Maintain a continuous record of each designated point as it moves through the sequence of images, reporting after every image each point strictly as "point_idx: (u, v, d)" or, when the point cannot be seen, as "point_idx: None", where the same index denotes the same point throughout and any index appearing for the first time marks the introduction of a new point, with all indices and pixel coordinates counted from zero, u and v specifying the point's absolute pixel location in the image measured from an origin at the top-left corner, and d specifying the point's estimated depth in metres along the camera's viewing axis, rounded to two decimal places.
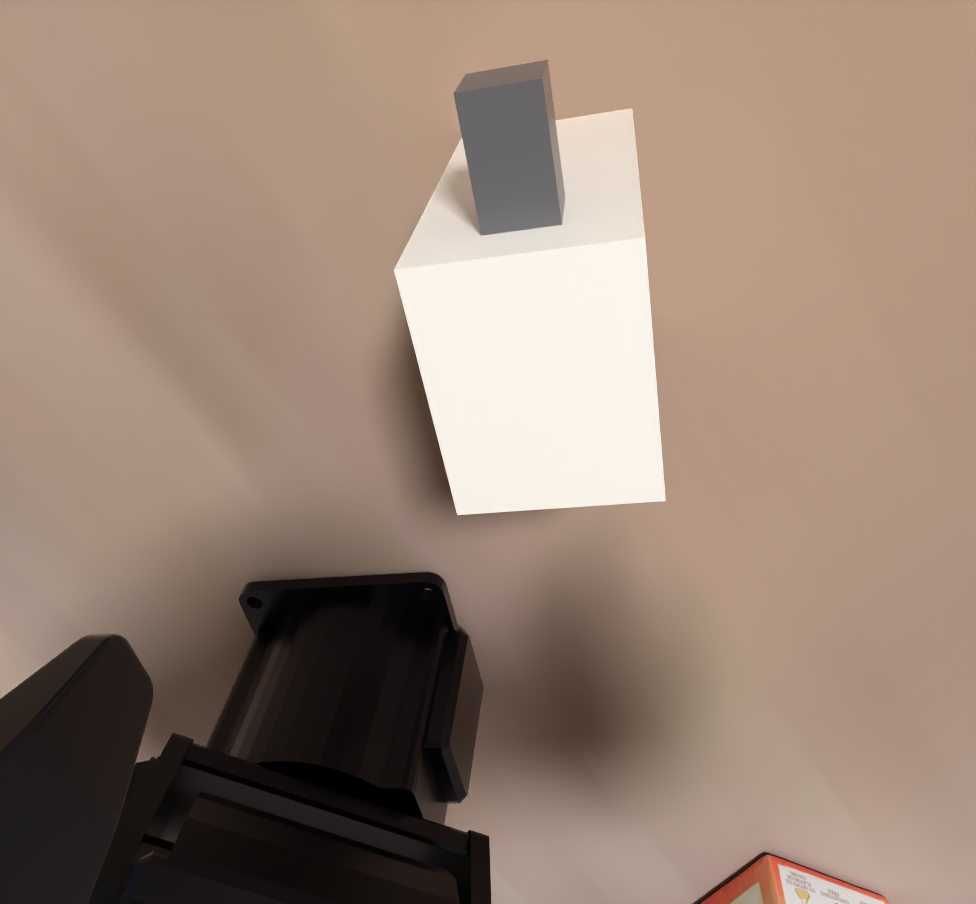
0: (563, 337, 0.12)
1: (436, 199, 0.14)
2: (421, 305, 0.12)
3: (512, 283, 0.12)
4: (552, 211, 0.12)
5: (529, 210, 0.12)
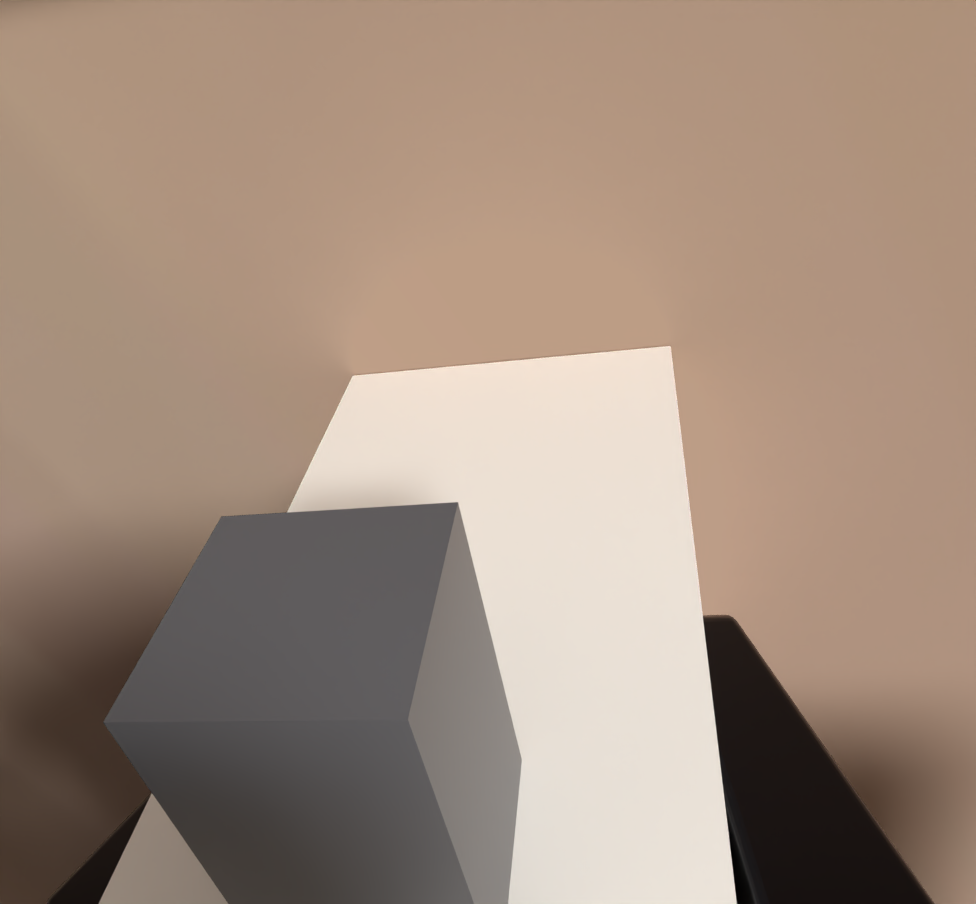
0: None
1: None
2: None
3: None
4: None
5: None
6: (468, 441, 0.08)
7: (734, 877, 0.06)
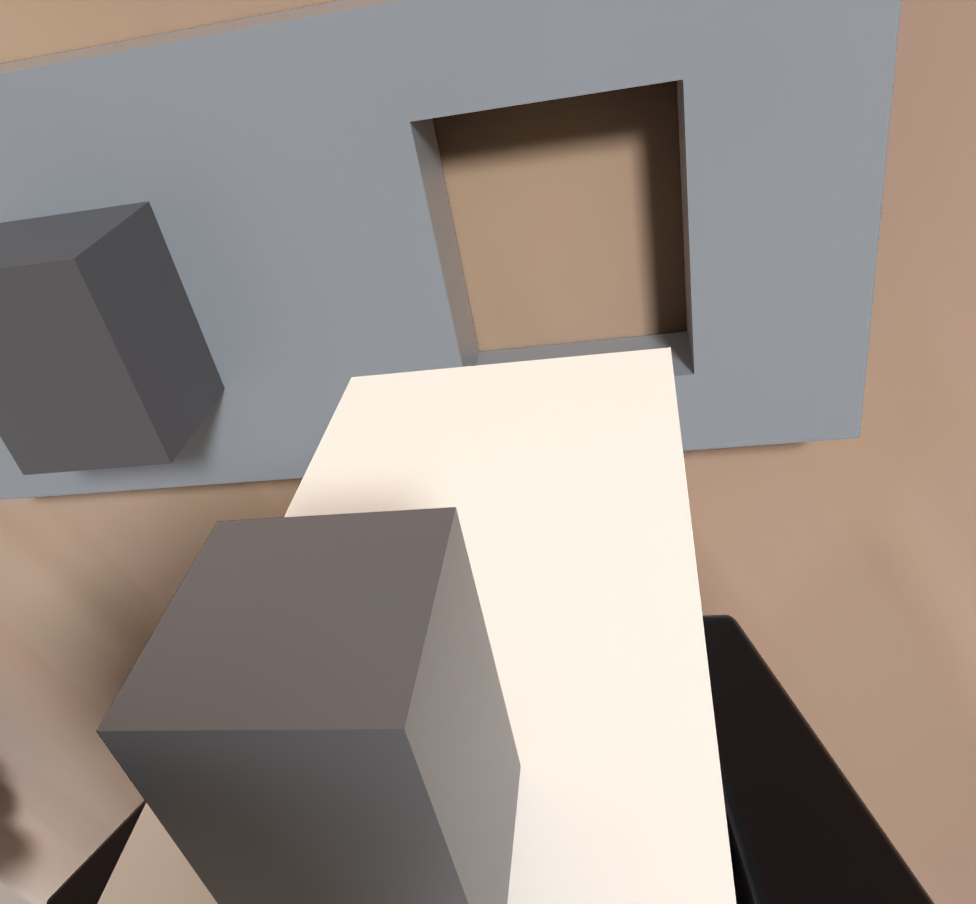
0: None
1: None
2: None
3: None
4: None
5: None
6: (467, 443, 0.08)
7: (734, 877, 0.06)
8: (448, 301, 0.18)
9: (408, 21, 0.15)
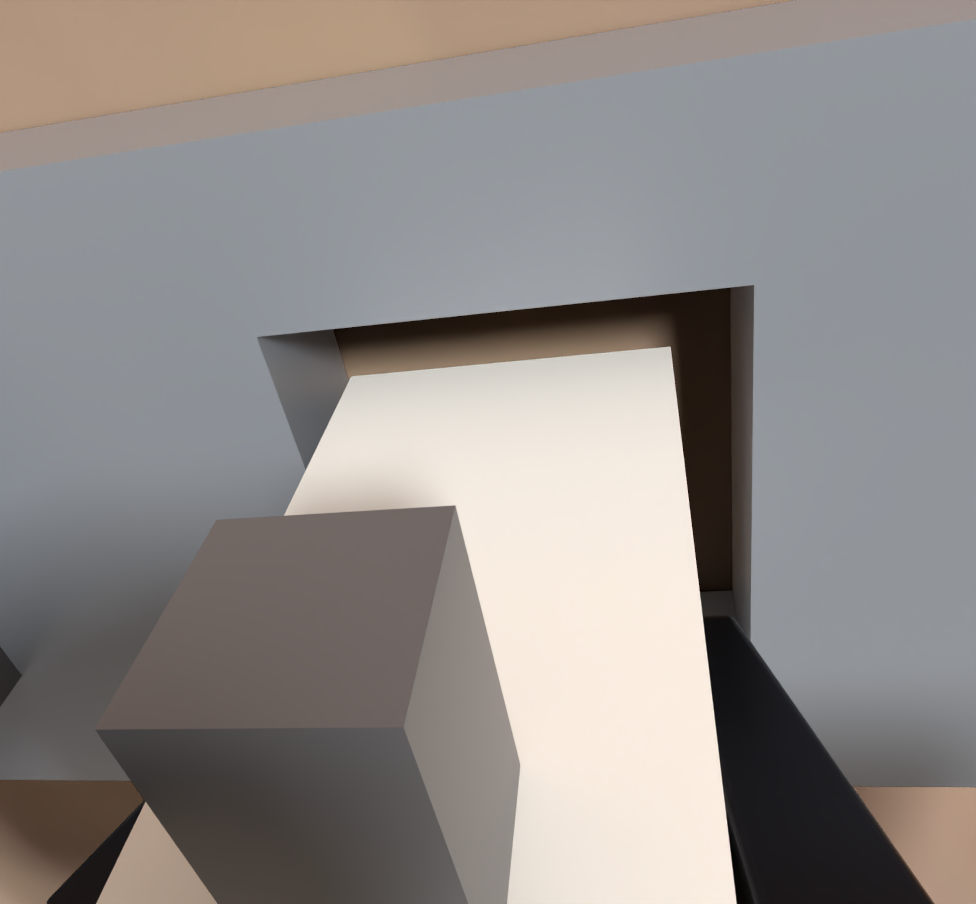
0: None
1: None
2: None
3: None
4: None
5: None
6: (467, 442, 0.08)
7: (734, 877, 0.06)
8: None
9: (233, 175, 0.08)
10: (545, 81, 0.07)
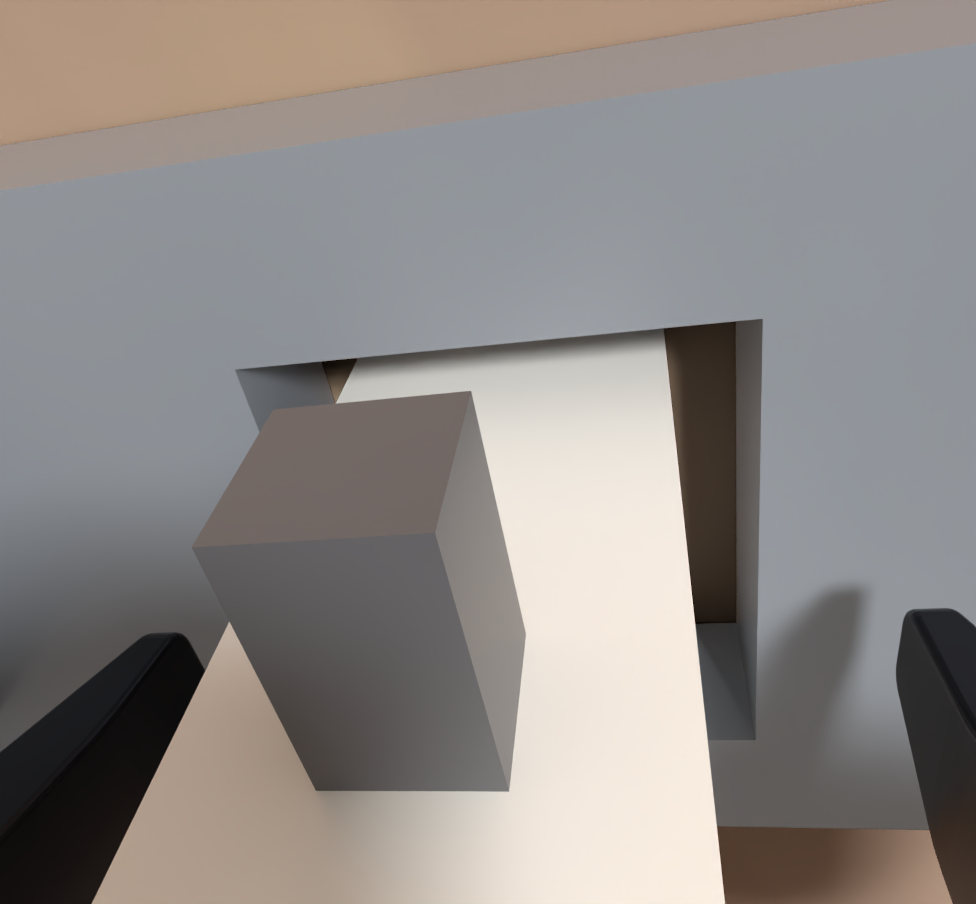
0: None
1: None
2: None
3: None
4: (484, 766, 0.05)
5: (426, 763, 0.05)
6: (476, 387, 0.09)
7: None
8: None
9: (207, 201, 0.07)
10: (539, 103, 0.07)
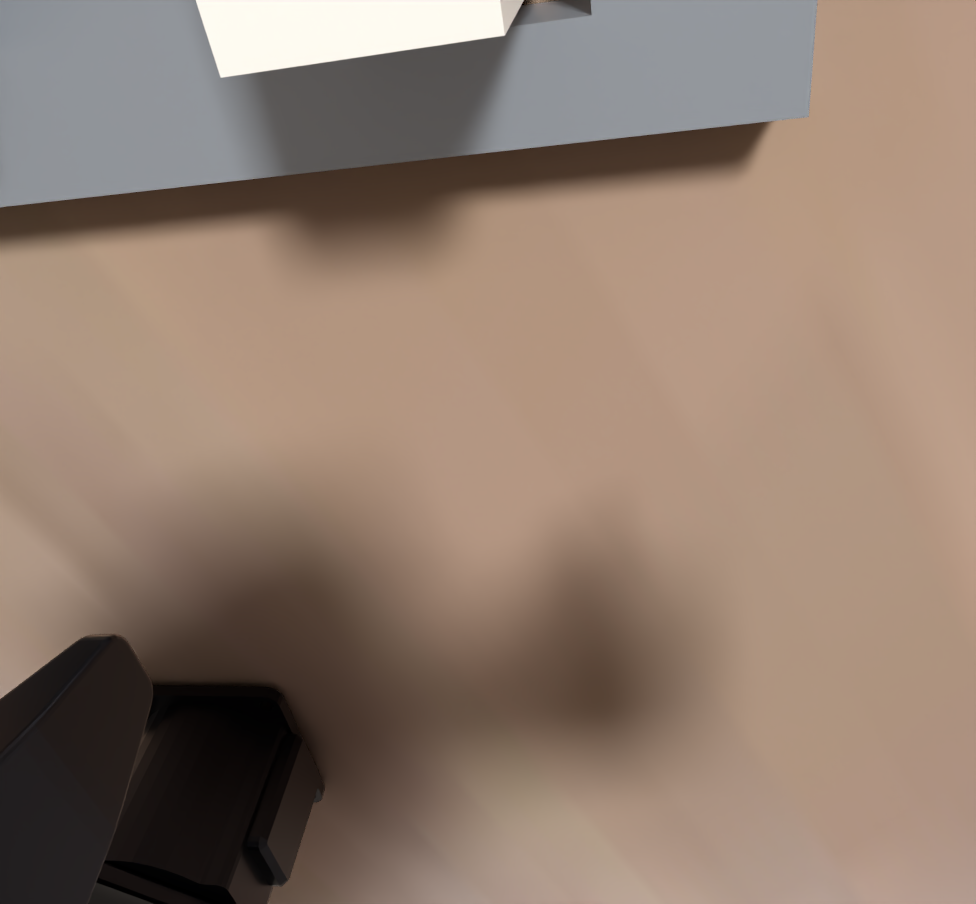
0: None
1: None
2: None
3: None
4: None
5: None
6: None
7: None
8: None
9: None
10: None
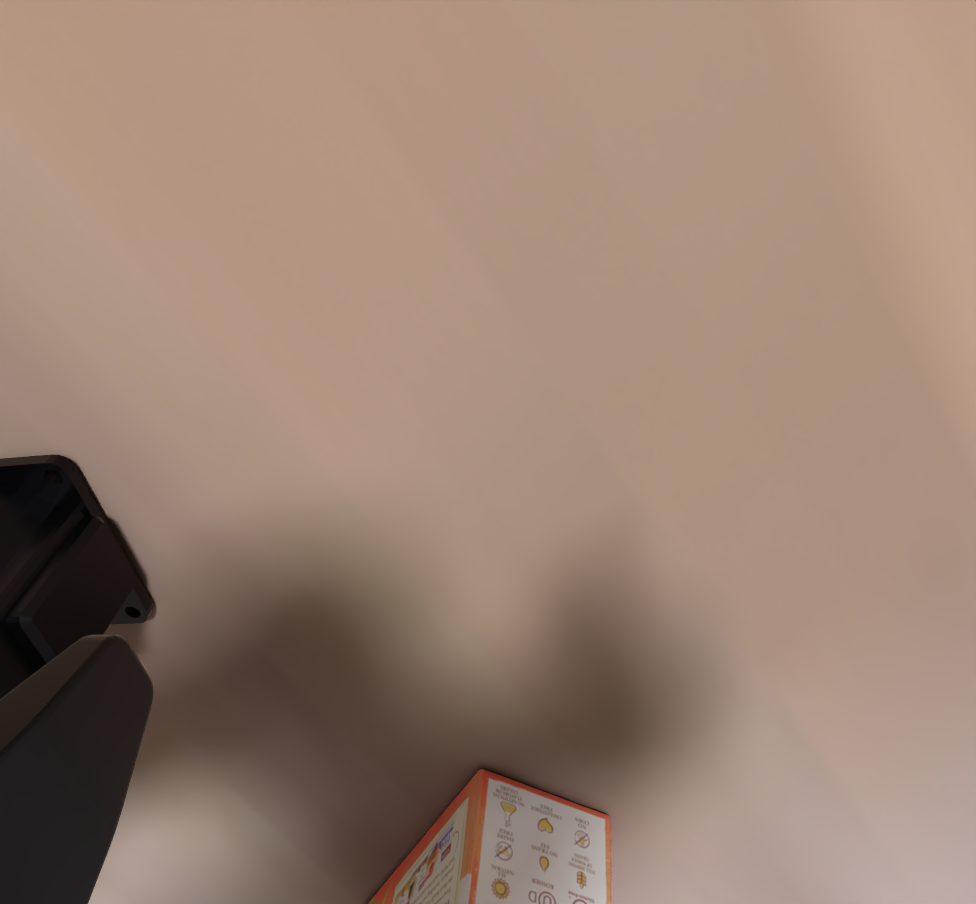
0: None
1: None
2: None
3: None
4: None
5: None
6: None
7: None
8: None
9: None
10: None
